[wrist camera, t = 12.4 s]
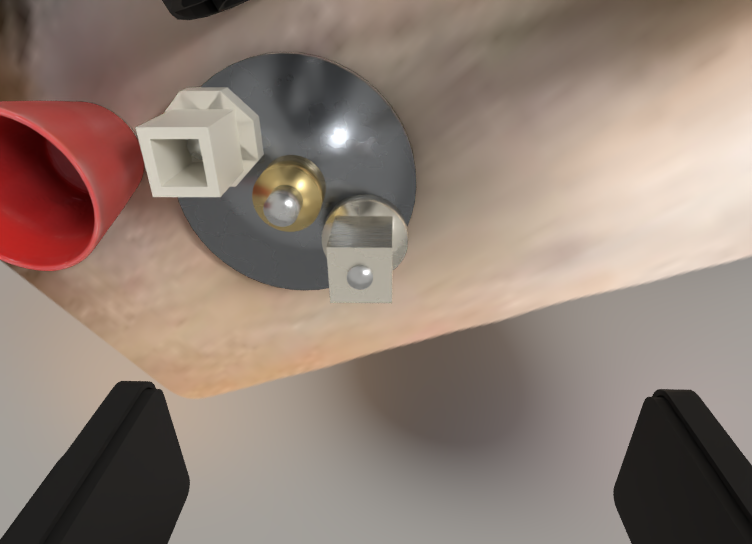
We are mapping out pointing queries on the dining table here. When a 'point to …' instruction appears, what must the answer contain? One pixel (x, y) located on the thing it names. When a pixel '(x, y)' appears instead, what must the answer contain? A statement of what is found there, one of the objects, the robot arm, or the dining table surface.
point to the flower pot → (62, 180)
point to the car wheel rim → (198, 7)
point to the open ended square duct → (216, 138)
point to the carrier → (313, 182)
